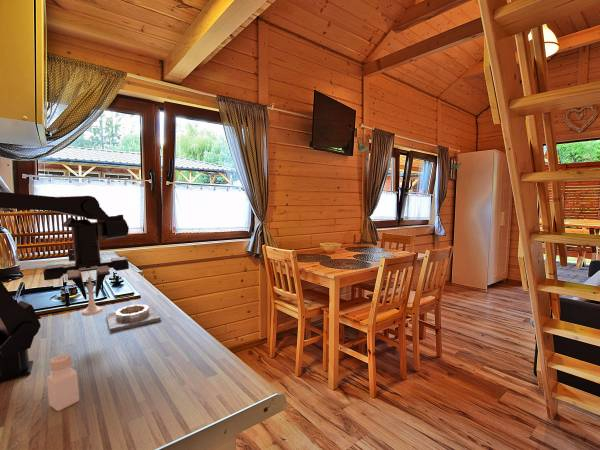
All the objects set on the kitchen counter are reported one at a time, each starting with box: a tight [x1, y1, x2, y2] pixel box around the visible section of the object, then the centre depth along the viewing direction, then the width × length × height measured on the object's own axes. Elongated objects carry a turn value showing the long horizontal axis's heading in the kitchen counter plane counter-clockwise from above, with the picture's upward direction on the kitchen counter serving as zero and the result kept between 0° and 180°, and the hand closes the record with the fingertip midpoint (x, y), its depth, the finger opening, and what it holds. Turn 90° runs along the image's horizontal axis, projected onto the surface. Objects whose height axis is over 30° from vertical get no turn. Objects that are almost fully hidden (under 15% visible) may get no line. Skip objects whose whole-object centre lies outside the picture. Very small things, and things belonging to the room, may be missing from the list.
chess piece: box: [81, 276, 104, 317], centre depth 85 cm, size 5×5×10 cm
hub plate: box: [105, 303, 162, 333], centre depth 102 cm, size 14×14×3 cm
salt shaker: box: [46, 353, 80, 412], centre depth 61 cm, size 4×4×10 cm
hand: (91, 298), depth 86 cm, fingers closed on chess piece, 2 cm apart
